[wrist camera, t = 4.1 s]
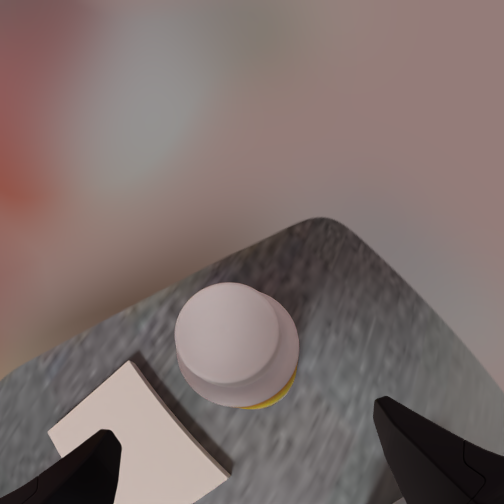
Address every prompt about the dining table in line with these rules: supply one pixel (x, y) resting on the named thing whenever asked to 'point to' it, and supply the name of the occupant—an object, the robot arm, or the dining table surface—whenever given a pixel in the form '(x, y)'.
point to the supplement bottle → (237, 346)
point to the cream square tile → (142, 442)
